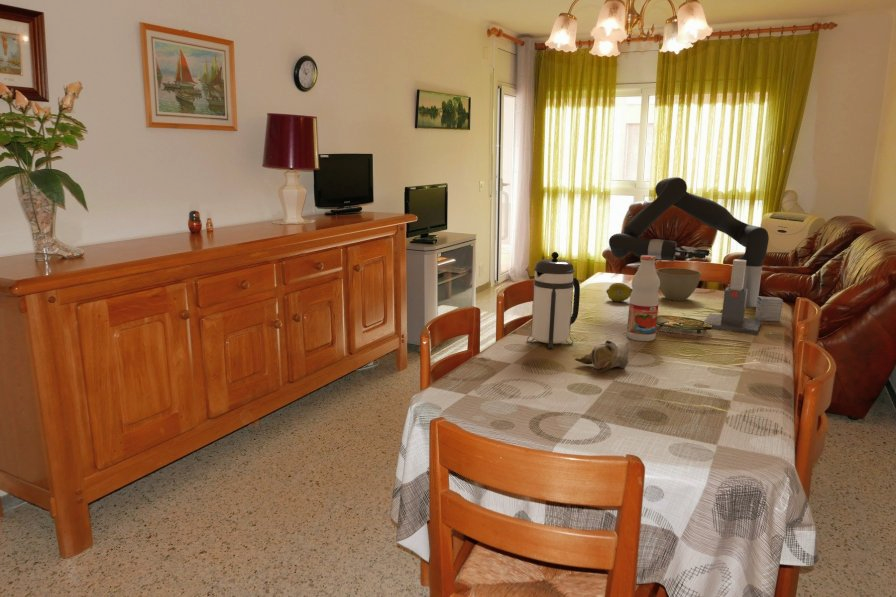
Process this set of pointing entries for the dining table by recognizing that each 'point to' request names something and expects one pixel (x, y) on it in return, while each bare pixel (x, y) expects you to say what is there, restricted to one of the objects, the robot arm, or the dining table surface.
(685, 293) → the beige bowl
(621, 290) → the lemon
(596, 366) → the ceramic sculpture
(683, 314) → the dining table surface
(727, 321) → the stand
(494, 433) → the dining table surface
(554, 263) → the coffee press
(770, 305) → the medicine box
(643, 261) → the fruit juice
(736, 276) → the column
